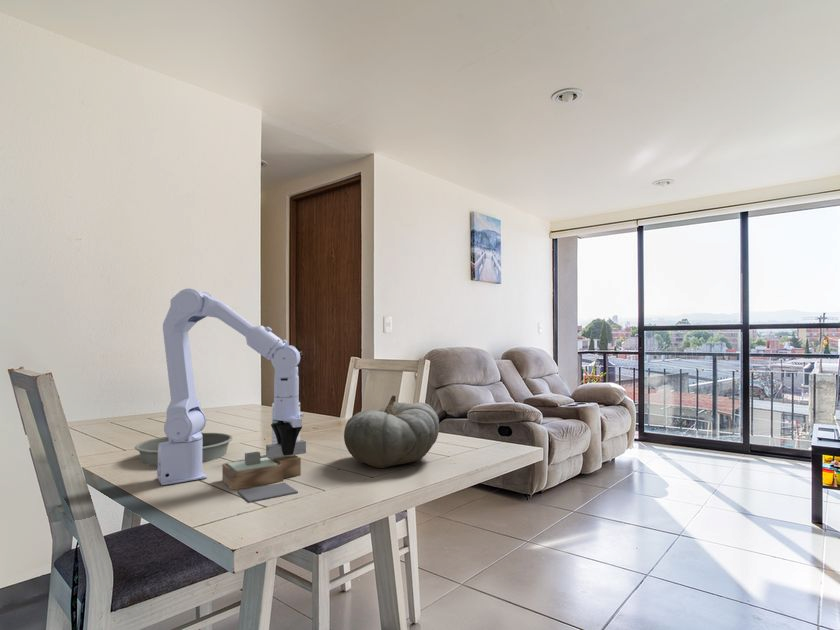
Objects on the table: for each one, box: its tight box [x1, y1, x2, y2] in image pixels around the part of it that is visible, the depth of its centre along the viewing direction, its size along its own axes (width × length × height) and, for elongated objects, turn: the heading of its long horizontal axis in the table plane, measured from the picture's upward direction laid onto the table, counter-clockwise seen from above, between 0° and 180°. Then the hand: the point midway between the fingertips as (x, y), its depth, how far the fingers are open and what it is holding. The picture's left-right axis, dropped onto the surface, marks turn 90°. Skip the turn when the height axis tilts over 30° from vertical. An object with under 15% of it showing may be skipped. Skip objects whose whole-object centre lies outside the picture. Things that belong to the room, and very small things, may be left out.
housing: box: [221, 455, 302, 491], centre depth 114 cm, size 16×10×4 cm, turn 125°
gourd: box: [343, 395, 440, 469], centre depth 129 cm, size 25×25×17 cm
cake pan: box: [134, 432, 234, 467], centre depth 138 cm, size 25×25×4 cm
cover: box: [227, 451, 278, 472], centre depth 113 cm, size 9×8×3 cm
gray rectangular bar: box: [265, 439, 307, 459], centre depth 118 cm, size 9×2×3 cm, turn 125°
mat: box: [238, 481, 299, 503], centre depth 104 cm, size 10×8×1 cm
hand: (286, 453), depth 118 cm, fingers closed on gray rectangular bar, 2 cm apart
